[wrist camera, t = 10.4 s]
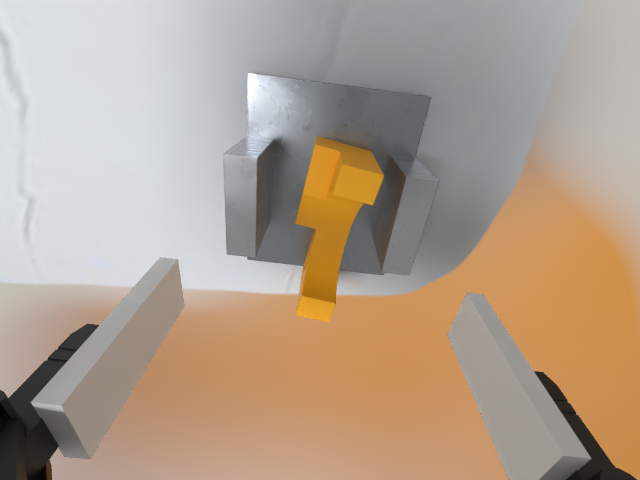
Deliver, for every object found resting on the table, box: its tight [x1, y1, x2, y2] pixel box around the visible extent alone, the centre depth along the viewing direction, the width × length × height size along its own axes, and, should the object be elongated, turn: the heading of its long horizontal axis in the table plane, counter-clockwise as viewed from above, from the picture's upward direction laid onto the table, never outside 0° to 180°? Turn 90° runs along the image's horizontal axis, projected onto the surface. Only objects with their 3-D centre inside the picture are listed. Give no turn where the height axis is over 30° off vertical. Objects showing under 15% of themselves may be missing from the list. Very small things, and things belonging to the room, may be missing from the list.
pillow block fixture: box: [223, 73, 439, 275], centre depth 23 cm, size 16×13×7 cm
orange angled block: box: [295, 136, 384, 322], centre depth 23 cm, size 12×4×6 cm, turn 165°
